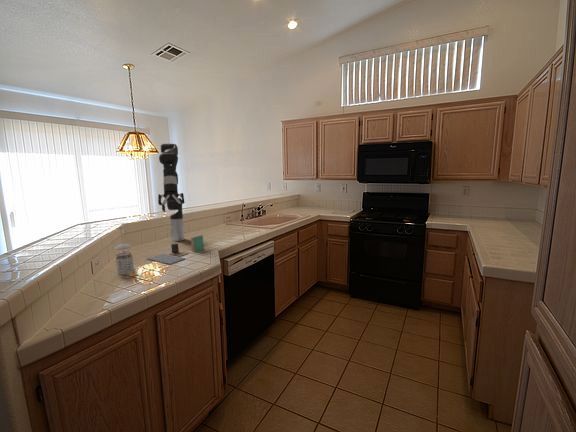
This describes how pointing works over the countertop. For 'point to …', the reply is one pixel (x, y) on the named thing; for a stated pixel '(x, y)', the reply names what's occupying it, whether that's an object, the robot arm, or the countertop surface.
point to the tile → (197, 243)
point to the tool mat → (166, 259)
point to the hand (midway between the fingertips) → (172, 211)
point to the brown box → (177, 251)
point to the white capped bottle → (124, 259)
